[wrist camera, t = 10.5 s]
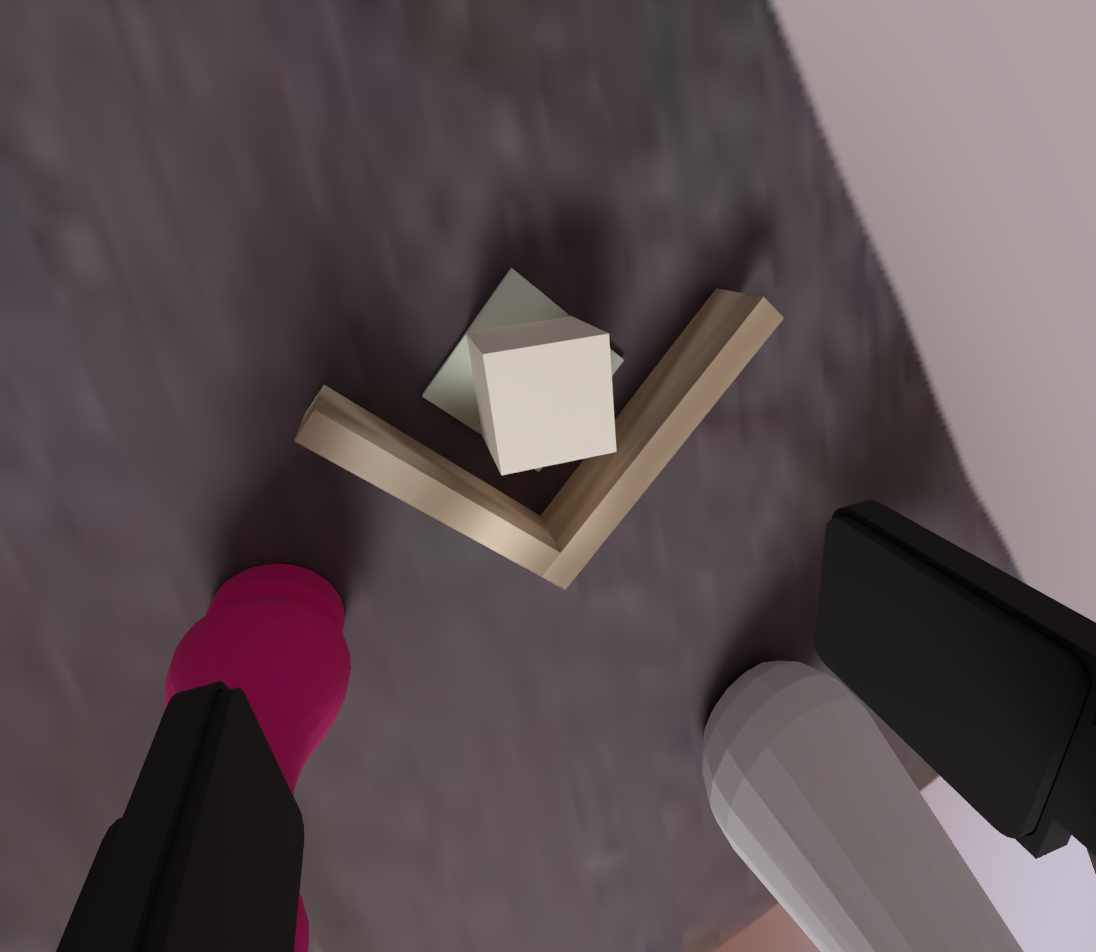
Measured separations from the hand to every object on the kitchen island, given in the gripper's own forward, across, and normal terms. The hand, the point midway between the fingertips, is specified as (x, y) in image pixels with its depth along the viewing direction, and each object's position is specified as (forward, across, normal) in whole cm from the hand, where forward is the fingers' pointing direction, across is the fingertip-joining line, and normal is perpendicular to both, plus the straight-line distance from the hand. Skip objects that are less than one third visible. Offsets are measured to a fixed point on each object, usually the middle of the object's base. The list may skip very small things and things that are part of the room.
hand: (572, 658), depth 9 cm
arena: (+20, -4, 0) cm, 20 cm away
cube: (+20, -4, +1) cm, 20 cm away
